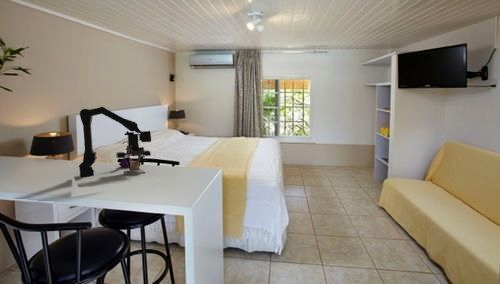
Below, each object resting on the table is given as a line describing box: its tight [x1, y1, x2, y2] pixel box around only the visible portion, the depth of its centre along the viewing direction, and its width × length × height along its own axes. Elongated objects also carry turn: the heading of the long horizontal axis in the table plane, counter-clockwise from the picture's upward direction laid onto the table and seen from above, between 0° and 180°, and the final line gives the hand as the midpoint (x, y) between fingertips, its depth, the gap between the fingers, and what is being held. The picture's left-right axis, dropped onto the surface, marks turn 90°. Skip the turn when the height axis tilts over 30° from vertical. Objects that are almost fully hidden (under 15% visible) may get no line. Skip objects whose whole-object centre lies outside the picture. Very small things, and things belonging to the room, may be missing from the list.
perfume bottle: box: [118, 140, 134, 169], centre depth 193 cm, size 8×8×18 cm
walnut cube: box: [128, 160, 141, 171], centre depth 178 cm, size 5×5×5 cm
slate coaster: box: [123, 169, 146, 176], centre depth 178 cm, size 10×10×1 cm
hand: (134, 168), depth 178 cm, fingers closed on walnut cube, 5 cm apart
